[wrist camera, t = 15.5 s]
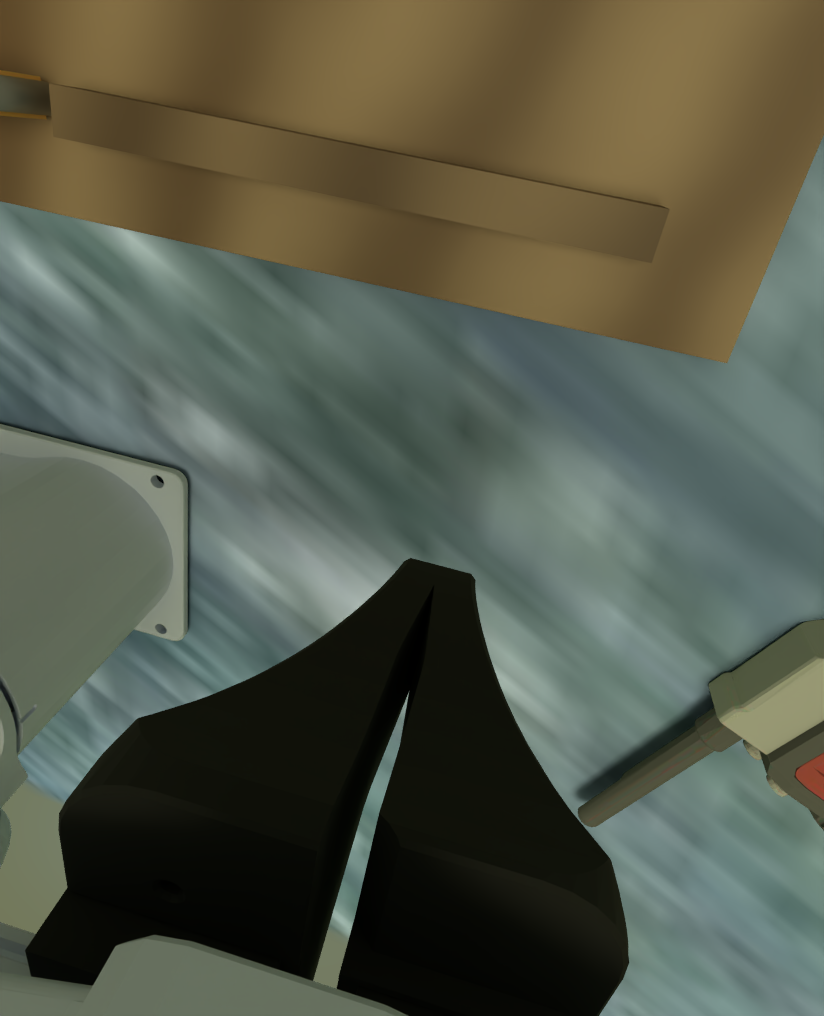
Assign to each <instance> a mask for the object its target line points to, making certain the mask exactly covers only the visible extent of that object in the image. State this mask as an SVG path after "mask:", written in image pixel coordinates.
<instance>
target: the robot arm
mask: <svg viewBox="0 0 824 1016" xmlns="http://www.w3.org/2000/svg"><path fill="white" fill-rule="evenodd" d="M156 475H158V476H160V477H161V478H162V479H163V481H164V484H163V483H161V482H160V481H159V480H158V479H157V476H156ZM161 624H162V625H164V626H165V627H166V628H165V627H163V626H162V625H161ZM133 630H138V631H141V632H145V633H148V634H152V635H155V636H159V637H162V638H166V639H169V640H173V641H179V640H181V639H182V638H183V637H184V636H185V635H186V634H187V630H188V483H187V479H186V477H185V476H184V474H182V473H181V472H180V471H178V470H176V469H173V468H169V467H165V466H161V465H158V464H154V463H150V462H146V461H142V460H138V459H134V458H130V457H127V456H123V455H119V454H115V453H111V452H107V451H103V450H99V449H96V448H92V447H88V446H84V445H80V444H76V443H72V442H68V441H64V440H61V439H57V438H53V437H49V436H45V435H41V434H37V433H33V432H30V431H26V430H22V429H18V428H14V427H10V426H6V425H2V424H0V867H1V865H2V864H3V861H4V858H5V856H6V852H7V850H8V847H9V844H10V837H11V826H10V821H9V819H8V817H7V815H6V813H5V812H4V811H3V810H2V809H1V808H2V806H3V805H4V804H5V803H6V802H7V801H8V799H9V798H10V797H11V796H12V795H13V794H14V793H15V791H16V790H17V789H18V788H19V787H20V786H21V785H22V783H23V782H24V781H25V780H26V779H27V777H28V775H27V773H26V771H25V770H24V768H23V767H22V765H21V763H20V761H19V759H18V755H19V754H20V752H21V751H22V750H23V749H24V748H25V747H26V746H27V745H28V744H29V743H30V742H31V741H32V739H33V738H34V737H35V736H36V735H37V734H38V733H39V732H40V731H41V730H42V729H43V727H44V726H45V725H46V724H47V723H48V722H49V721H50V720H51V719H52V718H53V717H54V715H55V714H56V713H57V712H58V711H59V710H60V709H61V708H62V707H63V706H64V705H65V704H66V702H67V701H68V700H69V699H70V698H71V697H72V696H73V695H74V694H75V693H76V692H77V690H78V689H79V688H80V687H81V686H82V685H83V684H84V683H85V682H86V681H87V680H88V678H89V677H90V676H91V675H92V674H93V673H94V672H95V671H96V670H97V669H98V668H99V667H100V665H101V664H102V663H103V662H104V661H105V660H106V659H107V658H108V657H109V656H110V655H111V653H112V652H113V651H114V650H115V649H116V648H117V647H118V646H119V645H120V644H121V643H122V641H123V640H124V639H125V638H126V637H127V636H128V635H129V634H130V633H131V632H132V631H133ZM408 692H409V696H408V702H407V708H406V714H405V719H404V725H403V731H402V737H401V743H400V747H399V750H398V754H397V757H396V760H395V764H394V767H393V770H392V774H391V777H390V780H389V783H388V787H387V790H386V793H385V796H384V800H383V803H382V806H381V809H380V812H379V817H378V821H377V825H376V829H375V834H374V838H373V842H372V846H371V851H370V855H369V859H368V864H367V868H366V872H365V876H364V881H363V885H362V889H361V894H360V898H359V902H358V906H357V911H356V915H355V919H354V923H353V926H352V930H351V934H350V937H349V941H348V944H347V948H346V952H345V956H344V959H343V963H342V966H341V970H340V974H339V981H338V985H337V989H335V988H332V987H329V986H326V985H323V984H320V983H317V982H314V981H313V979H314V975H315V972H316V968H317V965H318V961H319V958H320V954H321V951H322V948H323V944H324V941H325V937H326V934H327V930H328V927H329V923H330V920H331V916H332V913H333V910H334V906H335V903H336V899H337V896H338V892H339V889H340V886H341V882H342V879H343V875H344V872H345V869H346V865H347V862H348V858H349V855H350V851H351V848H352V845H353V841H354V838H355V835H356V831H357V828H358V824H359V821H360V818H361V814H362V811H363V808H364V805H365V802H366V799H367V796H368V793H369V790H370V788H371V785H372V782H373V780H374V777H375V775H376V772H377V770H378V767H379V765H380V762H381V760H382V757H383V755H384V752H385V750H386V747H387V745H388V742H389V740H390V737H391V735H392V732H393V730H394V727H395V725H396V722H397V720H398V717H399V715H400V712H401V710H402V707H403V705H404V702H405V700H406V697H407V695H408ZM59 836H60V842H61V849H62V854H63V861H64V868H65V874H66V880H67V886H68V888H67V890H66V891H65V892H64V894H63V895H62V897H61V898H60V900H59V901H58V903H57V904H56V906H55V907H54V908H53V910H52V911H51V913H50V914H49V916H48V917H47V919H46V920H45V922H44V923H43V924H42V926H41V927H40V929H39V930H38V932H37V934H34V933H31V932H28V931H25V930H22V929H19V928H16V927H13V926H10V925H7V924H4V923H1V922H0V1016H599V1015H600V1013H601V1012H602V1010H603V1009H604V1007H605V1006H606V1004H607V1002H608V1001H609V999H610V998H611V996H612V995H613V993H614V992H615V990H616V989H617V987H618V986H619V984H620V983H621V981H622V980H623V978H624V975H625V972H626V970H627V967H628V964H629V957H628V937H627V928H626V922H625V917H624V912H623V907H622V902H621V898H620V893H619V889H618V885H617V881H616V877H615V873H614V869H613V866H612V862H611V860H610V858H609V857H608V855H607V854H606V853H605V852H604V851H603V849H602V848H601V847H600V846H599V844H598V843H597V842H596V841H595V840H594V838H593V837H592V836H591V835H590V834H589V832H588V831H587V830H586V829H585V828H584V826H583V825H582V824H581V823H580V821H579V820H578V819H577V818H576V817H575V815H574V814H573V813H572V812H571V810H570V809H569V808H568V806H567V805H566V804H565V802H564V801H563V799H562V798H561V796H560V795H559V794H558V792H557V791H556V789H555V788H554V786H553V785H552V783H551V782H550V780H549V778H548V777H547V775H546V773H545V772H544V770H543V769H542V767H541V765H540V764H539V762H538V760H537V759H536V757H535V756H534V754H533V752H532V751H531V749H530V747H529V746H528V744H527V742H526V740H525V738H524V736H523V734H522V732H521V730H520V729H519V727H518V725H517V723H516V721H515V719H514V716H513V714H512V712H511V710H510V708H509V706H508V704H507V701H506V699H505V697H504V694H503V692H502V689H501V687H500V684H499V682H498V679H497V676H496V673H495V671H494V668H493V665H492V662H491V659H490V656H489V653H488V649H487V646H486V642H485V638H484V635H483V631H482V627H481V623H480V618H479V613H478V607H477V601H476V592H475V579H474V577H473V576H472V574H469V573H466V572H462V571H458V570H454V569H450V568H447V567H443V566H439V565H435V564H431V563H427V562H424V561H420V560H416V559H412V558H410V559H408V560H406V561H404V562H403V564H402V565H401V566H400V567H399V569H398V570H397V571H396V572H395V573H394V574H393V576H392V577H391V578H390V579H389V580H388V581H387V582H386V583H385V584H384V585H383V586H382V587H381V588H380V589H379V590H378V591H377V592H376V593H375V594H374V595H373V596H371V597H370V598H369V599H368V600H367V601H366V602H365V603H364V604H363V605H361V606H360V607H359V608H358V609H357V610H356V611H355V612H353V613H352V614H351V615H350V616H348V617H347V618H346V619H345V620H343V621H342V622H341V623H339V624H338V625H337V626H336V627H334V628H333V629H332V630H330V631H329V632H328V633H326V634H325V635H324V636H322V637H321V638H319V639H318V640H316V641H315V642H313V643H312V644H310V645H309V646H307V647H306V648H304V649H302V650H301V651H299V652H298V653H296V654H294V655H293V656H291V657H289V658H288V659H286V660H284V661H282V662H280V663H279V664H277V665H275V666H273V667H271V668H269V669H268V670H266V671H264V672H262V673H260V674H258V675H256V676H254V677H252V678H250V679H248V680H246V681H243V682H241V683H239V684H236V685H234V686H231V687H229V688H227V689H224V690H222V691H220V692H217V693H215V694H213V695H210V696H208V697H205V698H202V699H199V700H196V701H193V702H190V703H187V704H184V705H181V706H177V707H174V708H171V709H168V710H165V711H161V712H158V713H155V714H152V715H148V716H144V717H141V718H138V719H136V720H135V721H134V723H133V724H132V725H131V726H130V727H129V728H128V729H127V730H126V731H125V732H124V733H123V734H122V735H121V736H120V737H119V738H118V739H117V740H116V741H115V742H114V743H113V744H112V745H111V746H110V747H109V748H108V749H107V750H106V751H105V752H104V753H103V754H102V755H101V757H100V758H99V759H98V760H97V762H96V763H95V764H94V765H93V767H92V768H91V769H90V771H89V772H88V773H87V774H86V776H85V777H84V778H83V780H82V781H81V782H80V783H79V785H78V786H77V787H76V789H75V790H74V791H73V792H72V794H71V795H70V796H69V798H68V799H67V800H66V802H65V804H64V806H63V808H62V809H61V811H60V813H59Z"/></svg>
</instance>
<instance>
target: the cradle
mask: <svg viewBox="0 0 824 1016" xmlns="http://www.w3.org/2000/svg"><path fill="white" fill-rule="evenodd" d="M0 70H3V71H9V72H15V73H21V74H27V75H33V76H39V77H40V78H41V81H45V82H48V83H49V93H50V104H51V115H52V116H47V115H46V119H47V120H46V119H34V118H22V117H10V116H0V201H2V202H7V203H11V204H16V205H20V206H25V207H29V208H34V209H38V210H43V211H47V212H52V213H56V214H61V215H65V216H70V217H74V218H79V219H83V220H88V221H92V222H97V223H101V224H105V225H110V226H114V227H119V228H123V229H128V230H132V231H137V232H141V233H146V234H150V235H155V236H159V237H164V238H168V239H173V240H177V241H182V242H186V243H191V244H195V245H200V246H204V247H209V248H213V249H218V250H222V251H227V252H231V253H235V254H240V255H244V256H249V257H253V258H258V259H262V260H267V261H271V262H276V263H280V264H285V265H289V266H294V267H298V268H303V269H307V270H312V271H316V272H321V273H325V274H330V275H334V276H339V277H343V278H348V279H352V280H357V281H361V282H365V283H370V284H374V285H379V286H383V287H388V288H392V289H397V290H401V291H406V292H410V293H415V294H419V295H424V296H428V297H433V298H437V299H442V300H446V301H451V302H455V303H460V304H464V305H469V306H473V307H478V308H482V309H487V310H491V311H496V312H500V313H504V314H509V315H513V316H518V317H522V318H527V319H531V320H536V321H540V322H545V323H549V324H554V325H558V326H563V327H567V328H572V329H576V330H581V331H585V332H590V333H594V334H599V335H603V336H608V337H612V338H617V339H621V340H626V341H630V342H634V343H639V344H643V345H648V346H652V347H657V348H661V349H666V350H670V351H675V352H679V353H684V354H688V355H693V356H697V357H702V358H706V359H711V360H715V361H720V362H724V363H727V362H728V359H729V357H730V355H731V352H732V350H733V348H734V345H735V343H736V341H737V338H738V336H739V333H740V331H741V329H742V326H743V324H744V322H745V319H746V317H747V315H748V312H749V310H750V307H751V305H752V303H753V300H754V298H755V296H756V293H757V291H758V289H759V286H760V284H761V281H762V279H763V277H764V274H765V272H766V270H767V267H768V265H769V263H770V260H771V258H772V255H773V253H774V251H775V248H776V246H777V244H778V241H779V239H780V237H781V234H782V232H783V229H784V227H785V225H786V222H787V220H788V218H789V215H790V213H791V211H792V208H793V206H794V203H795V201H796V199H797V196H798V194H799V192H800V189H801V187H802V185H803V182H804V180H805V177H806V175H807V173H808V170H809V168H810V166H811V163H812V161H813V159H814V156H815V154H816V151H817V149H818V147H819V144H820V142H821V140H822V137H823V135H824V0H0Z"/></svg>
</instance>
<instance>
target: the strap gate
mask: <svg viewBox="0 0 824 1016" xmlns="http://www.w3.org/2000/svg"><path fill="white" fill-rule="evenodd" d="M46 115H47V116H52V115H51V104H50V93H49V83H48V82H45V81H41V78H40V77H39V76H33V75H27V74H21V73H15V72H9V71H3V70H0V116H10V117H22V118H34V119H46ZM46 120H47V119H46Z"/></svg>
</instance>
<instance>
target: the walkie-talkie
mask: <svg viewBox="0 0 824 1016" xmlns="http://www.w3.org/2000/svg"><path fill="white" fill-rule="evenodd" d="M708 686H709V690H710V693H711V697H712V700H713V704H714V708H713V709H711V710H710V711H708V712H707V713H705V714H704V715H702V716H701V717H699V718H698V719H696V720H695V726H693V727H692V728H690V729H689V730H687V731H686V732H684V733H683V734H681V735H680V736H678V737H677V738H675V739H674V740H673V741H671V742H670V743H668V744H667V745H665V746H664V747H662V748H661V749H659V750H658V751H656V752H655V753H653V754H652V755H650V756H649V757H647V758H646V759H644V760H643V761H641V762H640V763H638V764H637V765H636V766H634V767H633V768H631V769H630V770H628V771H627V772H625V773H624V774H623V776H622V777H621V779H620V780H619V781H617V782H616V783H614V784H613V785H611V786H610V787H608V788H607V789H605V790H604V791H602V792H601V793H600V794H598V795H597V796H595V797H594V798H592V799H591V800H589V801H588V802H586V803H585V804H584V805H582V806H581V807H579V808H578V816H579V818H580V820H581V822H583V823H584V824H585V825H587V826H590V827H596V826H598V825H599V824H601V823H603V822H604V821H606V820H607V819H609V818H610V817H612V816H613V815H615V814H617V813H618V812H620V811H621V810H623V809H624V808H626V807H627V806H629V805H631V804H632V803H634V802H635V801H637V800H638V799H640V798H642V797H643V796H645V795H646V794H648V793H649V792H651V791H652V790H654V789H656V788H657V787H659V786H660V785H662V784H663V783H665V782H667V781H668V780H670V779H671V778H673V777H674V776H676V775H677V774H679V773H681V772H682V771H684V770H685V769H687V768H688V767H690V766H691V765H693V764H695V763H696V762H698V761H699V760H701V759H702V758H704V757H706V756H707V755H709V754H710V753H712V752H713V751H717V752H722V751H724V750H725V749H727V748H728V747H730V746H732V745H733V744H735V743H736V742H738V741H740V740H741V739H744V740H743V743H744V746H745V748H746V750H747V751H748V752H749V754H750V755H751V756H752V757H753V758H755V759H756V760H760V759H762V761H763V764H764V767H765V770H766V773H767V776H766V778H767V781H768V783H769V785H770V786H771V788H772V789H773V790H774V791H775V792H776V793H777V794H778V795H780V796H782V797H784V796H786V795H790V796H791V797H792V798H794V799H795V800H797V801H798V802H800V803H801V804H802V805H804V806H805V807H807V808H808V809H809V810H810V812H811V814H812V816H813V817H814V819H815V820H816V822H817V823H818V824H819V826H820V827H821V828H822V829H823V830H824V619H821V620H813V621H806V622H804V623H802V624H800V625H798V626H797V627H796V628H794V629H793V630H791V631H790V632H788V633H787V634H786V635H784V636H783V637H781V638H780V639H778V640H777V641H776V642H774V643H773V644H771V645H770V646H768V647H767V648H766V649H764V650H763V651H761V652H760V653H758V654H757V655H755V656H754V657H753V658H751V659H750V660H748V661H747V662H745V663H744V664H743V665H741V666H740V667H738V668H737V669H735V670H734V671H733V672H729V673H723V674H722V675H720V676H719V677H718V678H716V679H715V680H713V681H712V682H711V683H709V685H708Z"/></svg>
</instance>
